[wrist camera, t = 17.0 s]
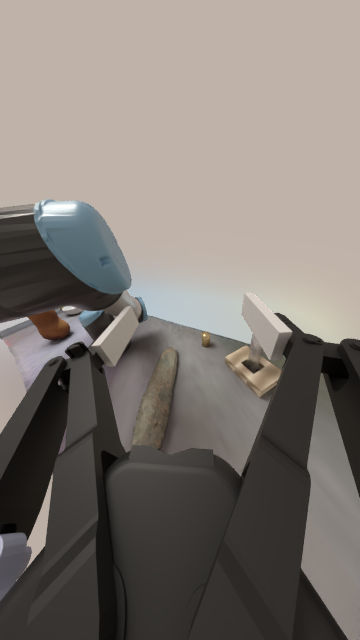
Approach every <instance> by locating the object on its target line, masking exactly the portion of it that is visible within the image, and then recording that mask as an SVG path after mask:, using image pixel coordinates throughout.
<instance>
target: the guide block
mask: <svg viewBox="0 0 360 640" xmlns="http://www.w3.org/2000/svg"><path fill="white" fill-rule="evenodd" d="M249 350H250V348H249V347H248V346H244V347H242V348H241V349H239V350H237V351H235V352H233V353H232V354H230V355H228V356H226V357H225V364H226V365H227V366H228V367H229V368H230V369H231V370H232V371H233V372H234V373H235V374H236V375H237V376H238V377H239V378H240V379H241V380H242V381H243V382H244V383H245V384H246V385H247V386H248V387H249V388H250V389H251V390H252V391H253V392H254V393H255V394H256V395H257V396H258V397H261V396H262V395H264V394H265V393H266V392H268V391H269V390H270V389H272V388H273V387H274V386H276V384H277V382H278V379H279V377H280V374H281V370H280V369H278V368H277V367H275V366H274V365H273V364H271V363H270V362H268V361H267V360H266V359H264V358H263V357H262V358H261V361H260V365H259V368H258V369H259V371H258V372H256V373H255V374H253V373H252V372H251V371H250V370H248V369H247V368H246V367H245V365H247V360H248V355H249Z"/></svg>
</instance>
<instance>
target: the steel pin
mask: <svg viewBox="0 0 360 640" xmlns="http://www.w3.org/2000/svg"><path fill="white" fill-rule="evenodd" d="M263 351H264V350H263V348H262V347H261V345H260V343H259V342H258V340H257V339H256V337H255V335H254V334H252V339H251V345H250V350H249V355H248V360H247V365H246V368H247V369H248V370H250V371H251V372H252V373H253V374H255V373H256V372H258V368H259V365H260V361H261V358H262V354H263Z"/></svg>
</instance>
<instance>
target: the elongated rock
mask: <svg viewBox="0 0 360 640" xmlns="http://www.w3.org/2000/svg"><path fill="white" fill-rule="evenodd" d="M177 353H178V352H177V350H175V349H174V348H172V347H171V348H168V349H166V350H165V351H164V352H163V353H162V354H161V356H160V358H159V361H158V364H157V366H156V368H155V369H154V373H153V376H152V378H151V380H150V382H149V384H148V388H147V390H146V392H145V394H144V395H143V397H142V400H141V405H140V407H139V408H140V409H139V411H138V415H137V418H136V425H135V427H134V430H133V431H134V434H133V439H132V445H144V446H152V447H154V448H156V449H160V447H161V442H162V439H163V438H164V435H165V429H166V426H167V421H168V419H169V417H168V416H169V410H170V405H171V397H172V392H173V391H172V389H173V385H174V381H175V376H176V371H177V362H178V356H177V355H178V354H177ZM132 445H131V448H132Z"/></svg>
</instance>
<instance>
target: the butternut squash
mask: <svg viewBox="0 0 360 640" xmlns="http://www.w3.org/2000/svg"><path fill="white" fill-rule="evenodd" d="M27 317H28V318H29V319H30V320H31V321H32V322H33V323H34V325H35V326H36V327H37V328H38V331H39V333H40V334H41V335H42V336H43V338H45V339H48V340H58V339H63V338H65V337H66V336H67V335H68V334H69V333H70V326H69V325H68V323H66V322H65V321H64V320H62V319H60V318H59V317H58V316H57V313H56V312H55V310H51V311H47V312H43V313H39V314H35V315H32V316H27Z"/></svg>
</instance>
